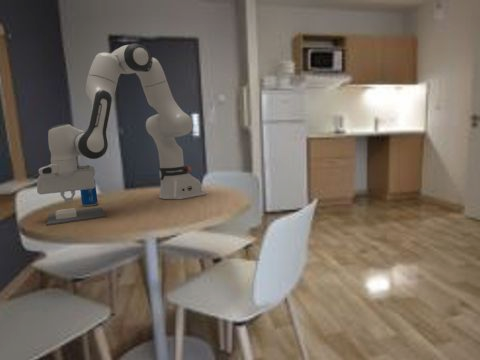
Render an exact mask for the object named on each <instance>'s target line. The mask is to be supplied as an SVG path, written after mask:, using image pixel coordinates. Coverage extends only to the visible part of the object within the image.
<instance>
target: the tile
mask: <svg viewBox="0 0 480 360" xmlns="http://www.w3.org/2000/svg"><path fill="white" fill-rule="evenodd" d="M76 210H77V209H76V207H73V208H72V207H71V208H66V209H58V210H56V211H55V213H56V220H57V219H64V218H72V217H77V215H76Z"/></svg>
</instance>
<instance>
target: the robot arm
mask: <svg viewBox="0 0 480 360" xmlns="http://www.w3.org/2000/svg"><path fill="white" fill-rule="evenodd" d="M159 61H160V60H158V59H157V58H155V57H152V55H151V54H150V52H149V50H148V49H147V48H146V47H145V45H142V44H140V43H130V44H125V45H122V46H120V47H119V48H116V49H114V50H112V51H111V52H110V53H109V52H106V51H105V52H99V53H97V54H96V55H95V57H94V59H93V60H92V63H91V65H90V68H89V71H88V75H87V78H86V84H85V94H86V96H87V98H88V99H89V100H90V103H91V111H90V116H89V121H88V126H87V128H86V130H82V129H79V128H77V127H75V126H72V125H71V124H70V123H64V124H57V125H54V126H52V127H50V128H49V129H48V131H47V133H48V137H47V139H48V140H47V141H48V150H49V152H50V164H45V166H42V167H40V168H39V169H38V174H39V176H38V177H37V180H36V191H37V194H39V195H47V194H56V193H60V196H61V198H62V199H63V201H64V204H71V203H74V197H75V194H76V191H80V190H86V189H94V188H95V184H96V180H95V177H94V176H95V174H96V171H95V168H94V166H91V165H78V162H77V161H78V160H77V157H78V156H81V157H84V158H88V159H91V160H97V159H100V158H101V157H103V156H104V155H106V152H107V151H108V148H109V147H108V146H109V144H108V143H109V142H108V138H107V128H108V125H109V124H108V123H109V118H110V112H111V107H112V102H113V100H114V97H115V93H116V90H117V86H118V82H119V78H120V76H121V75H123V76H125V75H131V74H136V76H137V77H138V79H139V81H140V84H141V87H142V89H143V93H144V95H145V98H146V101H147V103H148V105H149V106H150V107H151V108H153V109H154V110H155V111H156V112H157V114H153V115H152V116H149V117H148V118H147V119H146V121H145V129H146V131H147V133H148V135H149V136H151V137H152V139H153V141H154V143H155V146H156V148H157V151H158V159H159V168H158V169H159V170H158V171H159V174H158V175H159V180H160V190H159V196H158V198H159V199H162V200H163V199H164V200H183V199H188V198H189V199H190V198H193V197H194V198H195V197H200V196H205V195H207V194H208V192H207V190H205V189H203V187H202V183H201V181H200V180H199V179H198V178H196V177H194V176H193V175H192V174H190V173H189V172H191V171H192V167H190V166H186V165H185V163H184V151H183V149H182V147H181V146H180V145H178V143H177V141H176V138H180V137H184V136H186V135H189V134H190V133H191V131H192V130H193V120H192V118H191V116H190V115H189V114H187V113H186V112H185V111H183V109H182V108H180V106H179V105H178V103H177V102H176V101H175V99H174V96H173V94H172V91H171V89H170V86H169V83H168V80H167V77H166V75H165V71H164V70H163V67H162V65H161V63H160V62H159ZM66 192H70V194H71V196H70V197H66V196H65V194H66Z"/></svg>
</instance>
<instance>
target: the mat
mask: <svg viewBox="0 0 480 360" xmlns="http://www.w3.org/2000/svg"><path fill="white" fill-rule="evenodd" d="M76 215H77V217H72V218H64V219H57V220H56V212H54V213H48V215H47V219H46V226H53V225H60V224H67V223H73V222H81V221H88V220H94V219H101V218H107V217H106V216H107V215H106V213H105V211H104V209H103V207H102V206H99V207H92V208H91V207H90V208H86V209H85V208H83V209H76Z"/></svg>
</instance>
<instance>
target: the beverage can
mask: <svg viewBox="0 0 480 360" xmlns="http://www.w3.org/2000/svg"><path fill="white" fill-rule="evenodd" d="M79 191H80V199H81V205H83V207H93V205H94V206H96V205H97V204H98V194H97V185H96V183H95V188H94V189H86V190H79Z"/></svg>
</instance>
